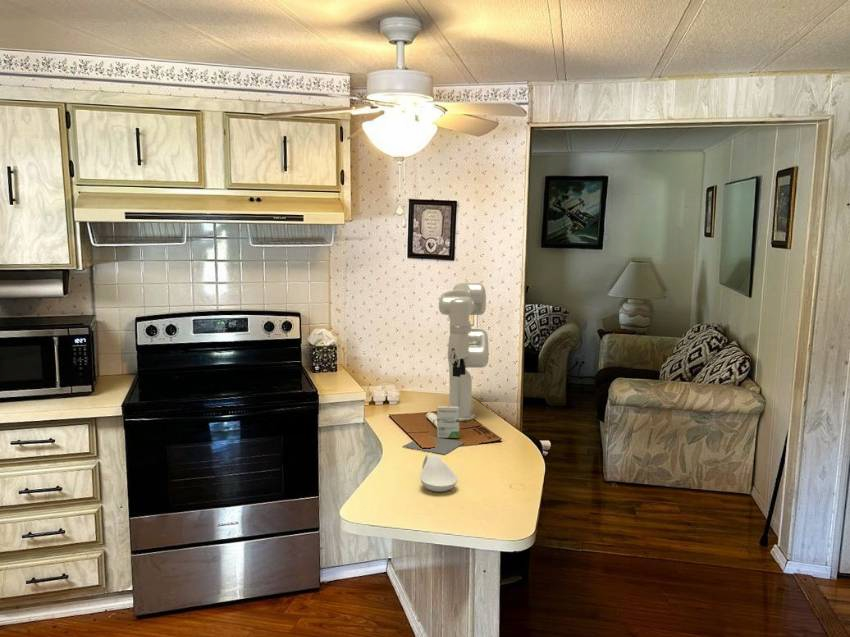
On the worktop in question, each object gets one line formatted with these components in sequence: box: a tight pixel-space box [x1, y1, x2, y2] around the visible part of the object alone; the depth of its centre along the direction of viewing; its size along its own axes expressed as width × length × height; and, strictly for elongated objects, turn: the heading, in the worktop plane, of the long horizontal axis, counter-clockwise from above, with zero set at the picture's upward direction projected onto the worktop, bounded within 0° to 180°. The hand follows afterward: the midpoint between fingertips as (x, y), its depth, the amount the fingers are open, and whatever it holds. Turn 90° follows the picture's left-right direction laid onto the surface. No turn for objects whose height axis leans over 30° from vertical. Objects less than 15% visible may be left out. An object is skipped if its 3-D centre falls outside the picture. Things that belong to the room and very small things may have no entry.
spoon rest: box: [419, 454, 458, 493], centre depth 223 cm, size 24×12×7 cm, turn 11°
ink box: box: [436, 405, 460, 439], centre depth 270 cm, size 9×5×12 cm, turn 85°
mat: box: [402, 435, 466, 456], centre depth 260 cm, size 16×18×1 cm
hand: (459, 375), depth 275 cm, fingers open, 3 cm apart
